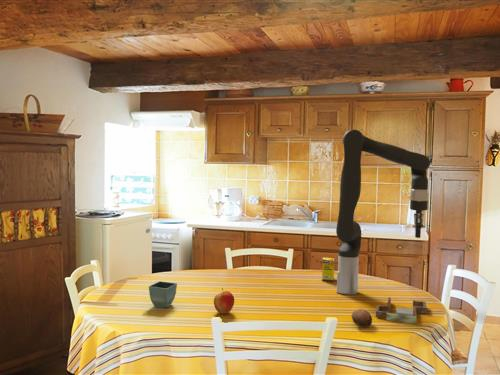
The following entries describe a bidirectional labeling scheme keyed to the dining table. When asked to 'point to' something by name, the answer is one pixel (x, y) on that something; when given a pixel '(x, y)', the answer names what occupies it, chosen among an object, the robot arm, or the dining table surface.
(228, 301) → the apple
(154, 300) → the flower pot
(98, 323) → the dining table surface
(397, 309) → the block
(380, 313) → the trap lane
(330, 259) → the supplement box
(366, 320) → the brown oval ball
